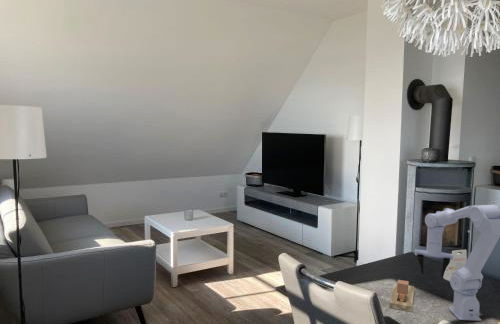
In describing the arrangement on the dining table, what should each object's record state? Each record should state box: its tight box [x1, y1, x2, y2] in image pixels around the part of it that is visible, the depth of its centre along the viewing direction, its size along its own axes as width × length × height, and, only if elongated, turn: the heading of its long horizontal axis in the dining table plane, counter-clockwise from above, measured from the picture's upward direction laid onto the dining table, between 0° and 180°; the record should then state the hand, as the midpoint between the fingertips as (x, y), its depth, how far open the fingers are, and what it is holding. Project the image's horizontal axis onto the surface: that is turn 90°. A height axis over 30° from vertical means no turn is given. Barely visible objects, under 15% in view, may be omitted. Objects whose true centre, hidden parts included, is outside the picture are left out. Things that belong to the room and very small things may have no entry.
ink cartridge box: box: [442, 249, 468, 282], centre depth 189 cm, size 9×5×15 cm, turn 105°
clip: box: [396, 279, 410, 302], centre depth 163 cm, size 4×7×8 cm, turn 156°
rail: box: [389, 282, 415, 312], centre depth 167 cm, size 8×22×2 cm, turn 156°
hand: (432, 273), depth 170 cm, fingers open, 7 cm apart
